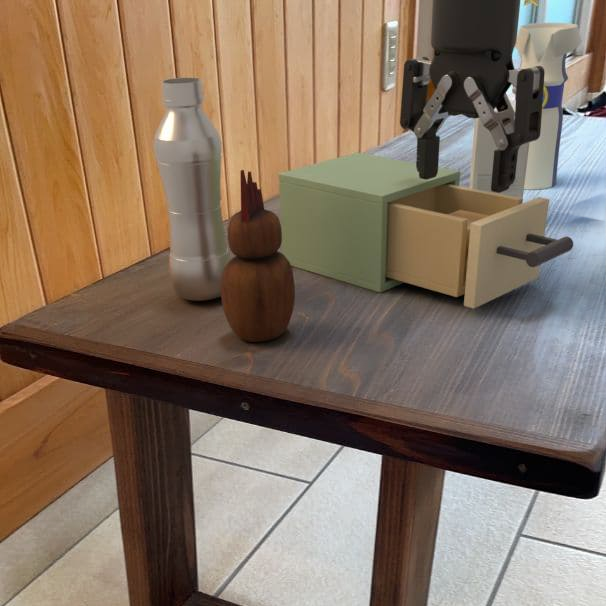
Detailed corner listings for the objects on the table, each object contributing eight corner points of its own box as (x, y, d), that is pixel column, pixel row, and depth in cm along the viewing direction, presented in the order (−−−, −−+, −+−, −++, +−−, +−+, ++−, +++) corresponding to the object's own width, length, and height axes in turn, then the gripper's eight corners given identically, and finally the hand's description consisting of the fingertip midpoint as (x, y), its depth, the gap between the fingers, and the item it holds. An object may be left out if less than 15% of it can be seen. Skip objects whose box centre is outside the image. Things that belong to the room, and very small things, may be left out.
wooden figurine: (258, 354, 76) (247, 178, 67) (213, 339, 79) (197, 168, 71) (307, 331, 80) (303, 161, 72) (262, 317, 84) (253, 152, 75)
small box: (519, 228, 105) (534, 111, 97) (467, 227, 105) (477, 111, 98) (515, 209, 111) (528, 98, 103) (466, 209, 112) (475, 99, 104)
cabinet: (453, 262, 95) (460, 170, 89) (380, 292, 88) (382, 196, 82) (356, 237, 104) (356, 152, 98) (282, 263, 96) (278, 173, 91)
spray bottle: (555, 192, 117) (585, -25, 102) (493, 187, 120) (514, -25, 105) (565, 178, 123) (595, -29, 109) (506, 173, 126) (528, -29, 111)
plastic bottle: (245, 289, 90) (230, 76, 78) (214, 312, 85) (193, 88, 73) (192, 282, 92) (170, 73, 80) (159, 303, 87) (130, 85, 75)
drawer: (579, 287, 85) (593, 207, 80) (515, 321, 79) (526, 235, 74) (434, 251, 96) (438, 177, 91) (367, 277, 89) (368, 200, 85)
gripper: (574, -16, 71) (547, 187, 81) (437, -19, 79) (428, 166, 89) (524, -9, 67) (502, 205, 77) (385, -13, 75) (381, 181, 85)
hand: (462, 184), depth 83 cm, fingers open, 8 cm apart
